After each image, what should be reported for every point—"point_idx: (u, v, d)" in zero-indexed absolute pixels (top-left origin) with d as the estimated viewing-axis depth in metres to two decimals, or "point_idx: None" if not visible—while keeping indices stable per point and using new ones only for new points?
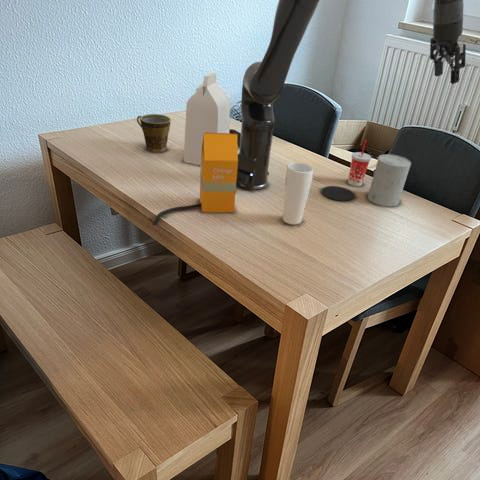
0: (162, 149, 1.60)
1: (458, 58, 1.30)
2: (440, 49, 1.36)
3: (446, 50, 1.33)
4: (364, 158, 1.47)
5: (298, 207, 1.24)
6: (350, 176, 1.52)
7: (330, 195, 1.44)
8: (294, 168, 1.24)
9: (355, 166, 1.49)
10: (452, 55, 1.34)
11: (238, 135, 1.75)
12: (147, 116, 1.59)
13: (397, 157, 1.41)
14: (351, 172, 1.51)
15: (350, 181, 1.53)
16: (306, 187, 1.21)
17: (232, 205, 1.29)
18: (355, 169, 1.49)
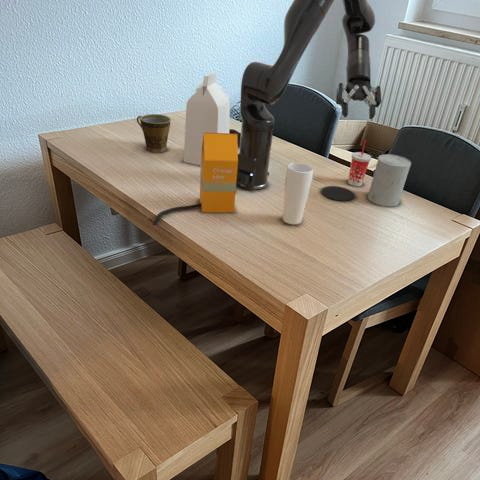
0: (162, 149, 1.60)
1: None
2: (357, 88, 1.52)
3: None
4: (364, 158, 1.47)
5: (298, 207, 1.24)
6: (350, 176, 1.52)
7: (330, 195, 1.44)
8: (294, 168, 1.24)
9: (355, 166, 1.49)
10: (366, 96, 1.53)
11: (238, 135, 1.75)
12: (147, 116, 1.59)
13: (397, 157, 1.41)
14: (351, 172, 1.51)
15: (350, 181, 1.53)
16: (306, 187, 1.21)
17: (232, 205, 1.29)
18: (355, 169, 1.49)
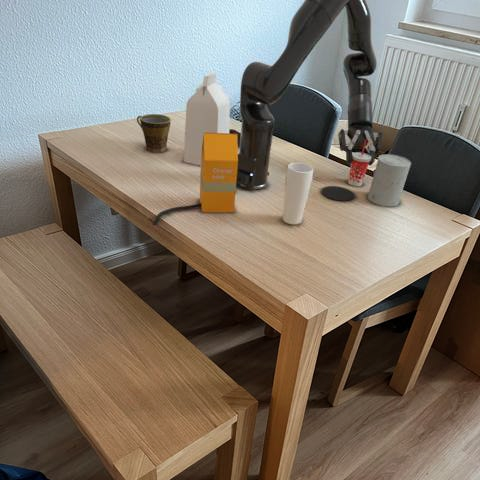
0: (162, 149, 1.60)
1: None
2: (359, 133, 1.49)
3: None
4: (364, 158, 1.47)
5: (298, 207, 1.24)
6: (350, 176, 1.52)
7: (330, 195, 1.44)
8: (294, 168, 1.24)
9: (356, 166, 1.49)
10: None
11: (238, 135, 1.75)
12: (147, 116, 1.59)
13: (397, 157, 1.41)
14: (351, 172, 1.51)
15: (350, 181, 1.53)
16: (306, 187, 1.21)
17: (232, 205, 1.29)
18: (355, 169, 1.49)
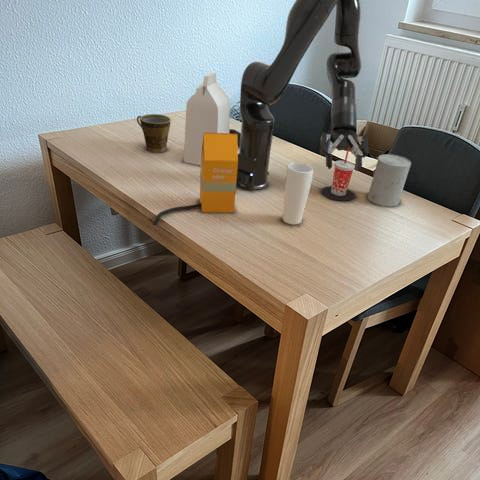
0: (162, 149, 1.60)
1: None
2: (342, 138, 1.40)
3: None
4: (347, 167, 1.39)
5: (298, 207, 1.24)
6: (333, 185, 1.44)
7: (330, 195, 1.44)
8: (294, 168, 1.24)
9: (338, 175, 1.41)
10: None
11: (238, 135, 1.75)
12: (147, 116, 1.59)
13: (397, 157, 1.41)
14: (334, 181, 1.43)
15: (333, 191, 1.45)
16: (306, 187, 1.21)
17: (232, 205, 1.29)
18: (338, 178, 1.41)
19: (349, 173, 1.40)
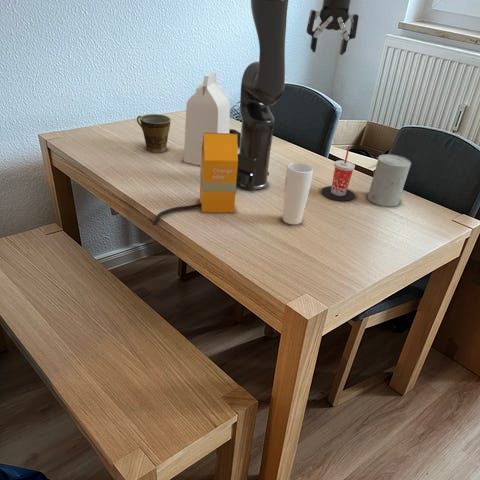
0: (162, 149, 1.60)
1: None
2: (331, 20, 1.36)
3: (342, 20, 1.36)
4: (347, 167, 1.39)
5: (298, 207, 1.24)
6: (333, 185, 1.44)
7: (330, 195, 1.44)
8: (294, 168, 1.24)
9: (338, 175, 1.41)
10: None
11: (238, 135, 1.75)
12: (147, 116, 1.59)
13: (397, 157, 1.41)
14: (334, 181, 1.43)
15: (333, 191, 1.45)
16: (306, 187, 1.21)
17: (232, 205, 1.29)
18: (338, 178, 1.41)
19: (349, 173, 1.40)
